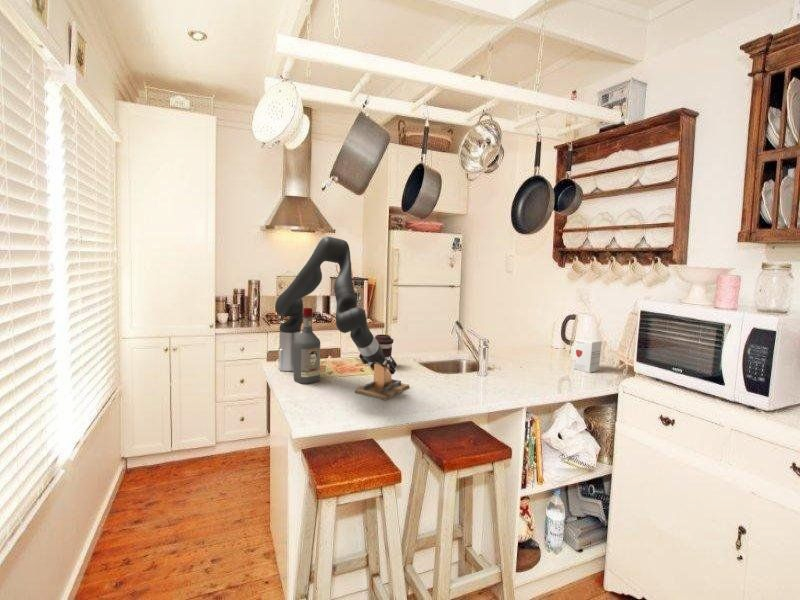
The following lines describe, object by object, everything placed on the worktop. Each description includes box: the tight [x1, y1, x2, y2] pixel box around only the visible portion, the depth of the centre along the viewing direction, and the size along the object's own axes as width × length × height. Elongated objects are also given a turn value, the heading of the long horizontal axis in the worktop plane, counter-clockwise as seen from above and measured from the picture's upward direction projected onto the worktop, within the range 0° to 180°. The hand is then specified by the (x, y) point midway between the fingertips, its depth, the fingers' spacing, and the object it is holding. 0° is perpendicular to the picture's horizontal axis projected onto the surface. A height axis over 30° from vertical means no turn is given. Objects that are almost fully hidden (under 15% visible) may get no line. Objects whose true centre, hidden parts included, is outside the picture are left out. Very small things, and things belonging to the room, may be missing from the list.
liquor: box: [293, 307, 321, 385], centre depth 181 cm, size 9×9×30 cm
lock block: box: [373, 361, 393, 390], centre depth 174 cm, size 6×4×10 cm
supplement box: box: [572, 337, 603, 374], centre depth 217 cm, size 9×9×15 cm
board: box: [354, 378, 410, 401], centre depth 175 cm, size 18×14×3 cm
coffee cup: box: [374, 333, 394, 358], centre depth 206 cm, size 10×10×15 cm
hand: (384, 370), depth 174 cm, fingers open, 8 cm apart
